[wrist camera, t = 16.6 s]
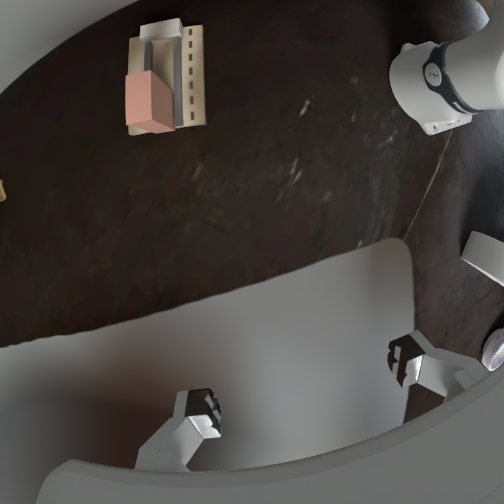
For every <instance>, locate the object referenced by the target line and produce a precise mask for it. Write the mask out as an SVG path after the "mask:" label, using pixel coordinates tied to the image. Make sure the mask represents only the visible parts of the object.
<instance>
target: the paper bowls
mask: <svg viewBox="0 0 504 504" xmlns="http://www.w3.org/2000/svg"><path fill="white" fill-rule="evenodd" d="M503 362H504V328H503V329H497V330H495V331H494V332H493V333H492V334H491V335H490V336H489V338H488V339H487V341H486V342H485V345H484V347H483V357H482V363H483V364H484V365H485V366H486V367H487V368H488V369H489V371H493V370H495V369H496V368H498V367H499V366H500V365H501V364H502V363H503Z"/></svg>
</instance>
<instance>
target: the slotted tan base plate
mask: <svg viewBox="0 0 504 504" xmlns="http://www.w3.org/2000/svg"><path fill="white" fill-rule="evenodd" d="M149 70H151V71H152V72H153V73H154V74H155V75H156V76H157V77H158V78H159V79H160V80H161V81H162V82H163V83H164V84H165V85H166V86H167V87H168V88H169V89H170V90H171V91H172V92H173V93H174V117H175V128H180V127H188V126H196V125H205V124H206V110H205V88H204V58H203V27H202V25H197V26H189V27H183V26H182V23H181V21H180V18H177V19H171V20H166V21H161V22H156V23H152V24H147V25H143V26H141V29H140V36H138V37H134V38H131V39H130V45H129V63H128V75H131V74H135V73H140V72H144V71H149ZM148 132H150V131H146V130H143V129H140V128H136V127H133V126H129V135H137V134H142V133H148Z"/></svg>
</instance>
